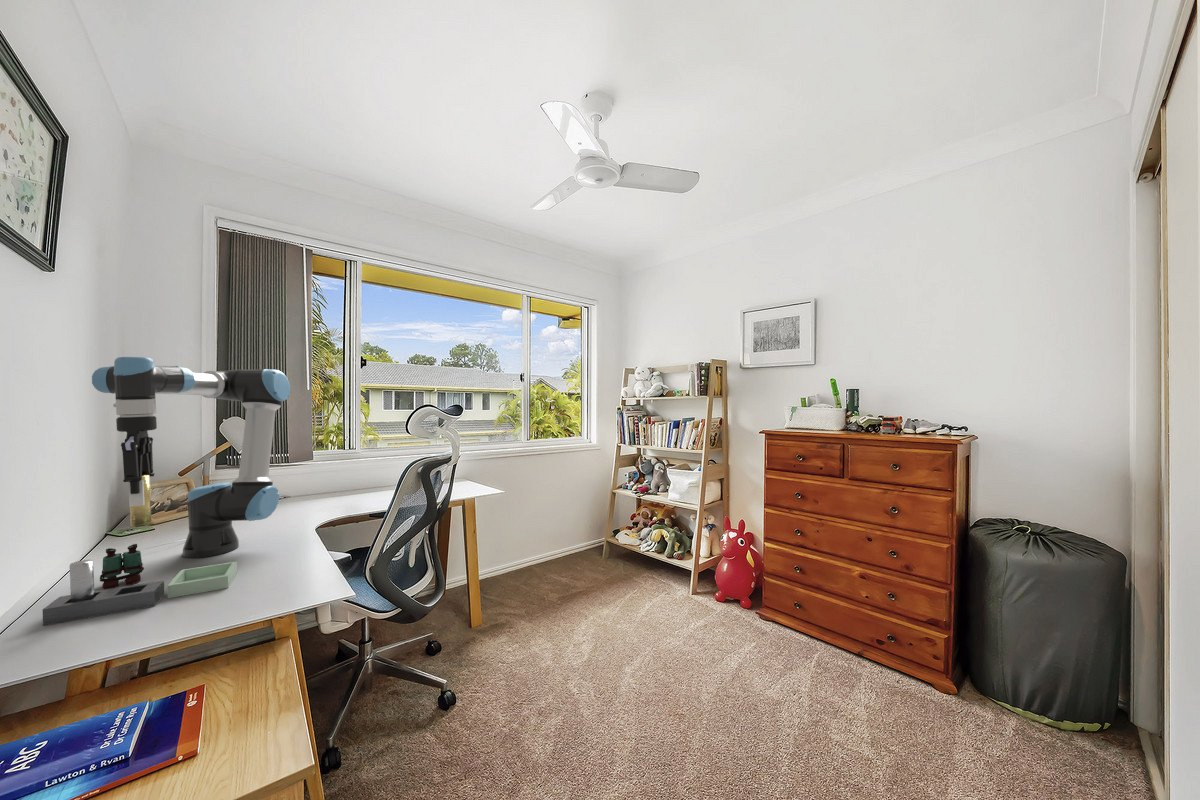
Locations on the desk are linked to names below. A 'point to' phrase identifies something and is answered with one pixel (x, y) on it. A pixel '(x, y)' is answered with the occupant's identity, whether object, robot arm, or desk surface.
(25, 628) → the desk surface
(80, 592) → the pin
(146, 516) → the brass pin
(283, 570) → the desk surface
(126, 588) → the bar
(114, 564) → the binoculars
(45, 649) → the desk surface
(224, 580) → the tray
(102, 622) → the desk surface
